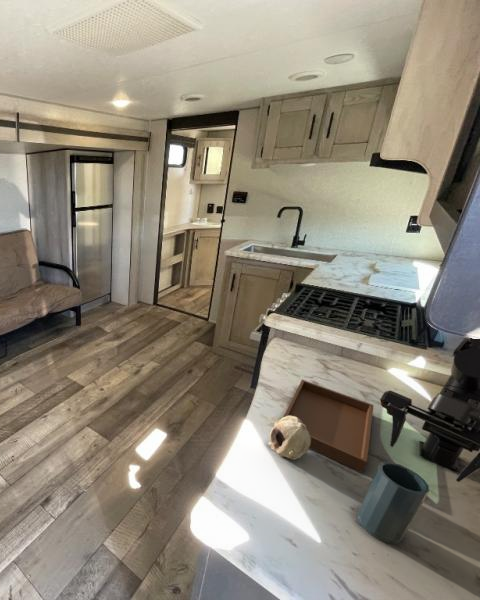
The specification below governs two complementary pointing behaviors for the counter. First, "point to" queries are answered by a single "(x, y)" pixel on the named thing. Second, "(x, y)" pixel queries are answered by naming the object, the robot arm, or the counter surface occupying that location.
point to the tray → (334, 423)
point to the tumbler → (391, 502)
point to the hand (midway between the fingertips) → (422, 462)
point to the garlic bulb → (290, 437)
